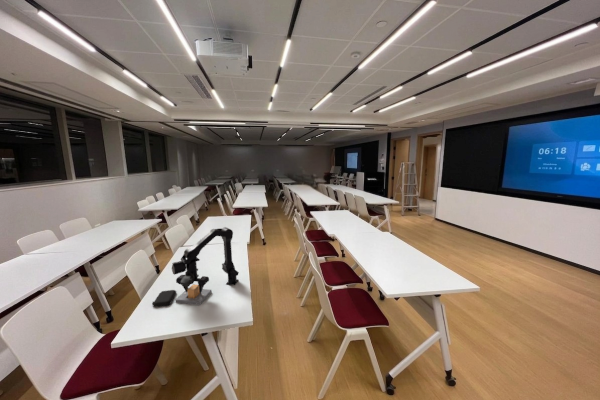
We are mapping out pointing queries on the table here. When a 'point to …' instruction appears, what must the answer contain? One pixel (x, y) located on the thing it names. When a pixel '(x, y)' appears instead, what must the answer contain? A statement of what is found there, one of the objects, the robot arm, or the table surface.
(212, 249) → the table surface
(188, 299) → the socket board
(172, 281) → the table surface
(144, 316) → the table surface
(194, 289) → the plug
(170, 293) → the carrying case or bag
